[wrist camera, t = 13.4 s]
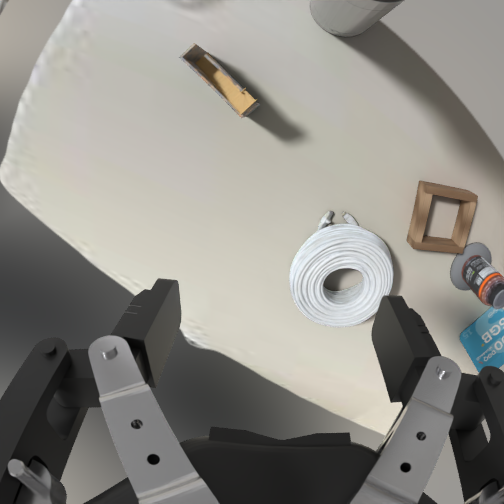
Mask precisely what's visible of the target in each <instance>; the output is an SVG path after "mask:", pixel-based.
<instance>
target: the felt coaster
mask: <svg viewBox="0 0 504 504" xmlns="http://www.w3.org/2000/svg"><path fill="white" fill-rule="evenodd" d="M474 255H480V256H482V257H483V258H484V259H485V260H486V261H487V262H488V263H490V264H491V253H490V251H489V249H488V248H487V247H486V246H485V245H484V244H482V243H471V244H469V245H467V246H465V247H464V250H463V254H460V253H458V254H457V255H456V257H455V259H454V261H453V263H452V266H451V270H450V277H451V281H452V283H453V284H454V285H455V287H457V288H458V289H460V290H470V289H471V288H470V287H469V286H468V285H467V284H466V282H465V281H464V280H463V278H462V274H461V272H462V267H463V265H464V263H465V262H466V261H467V259H468V258H470V257H471V256H474Z"/></svg>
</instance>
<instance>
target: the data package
mask: <svg viewBox="0 0 504 504" xmlns="http://www.w3.org/2000/svg"><path fill="white" fill-rule="evenodd" d="M460 341H461V342H462V344H463V346H464V347H465V349H466V351H467V353H468V354H469V356H470V358H471V360H472V361H473V363H474V365H475V367H476V369H477V370H478V372H480V371H481V369H482V368H483V367H485V366H494V367H497V368H499V367H501V366H502V365H503V364H504V310H503V309H502V308H501V309H494V307H493V306H492V307H491V308H490V309H489V310H487V311H486V312H485V313H484V314H483V315H482V316H481V317H480V318H478V319H477V320H476V321H475V322H474V323H472V324H471V325H470V326H469V327H468V328H466V329H465V330H464V331H463V332H462V333H461V335H460Z"/></svg>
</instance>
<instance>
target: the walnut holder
mask: <svg viewBox="0 0 504 504" xmlns="http://www.w3.org/2000/svg"><path fill="white" fill-rule="evenodd" d="M432 195H438V196H444V197H449V198H454V199H459V200H461V202H460V206H459V211H458V215H457V219H456V223H455V227H454V230H453V234H452V238H451V239H447V238H438V237H430V236H423V234H424V230H425V226H426V222H427V218H428V214H429V209H430V205H431V200H432ZM477 198H478V196H477V195H475V194H474V193H472V192H470V191H468V190H464V189H459V188H455V187H450V186H445V185H440V184H435V183H430V182H424V181H419V185H418V190H417V195H416V200H415V205H414V210H413V215H412V219H411V224H410V228H409V232H408V236H407V240H406V241H407V242H408V243H409V244H410V245H411V247H412V248H413V249H421V250H431V251H441V252H451V253H460V254H463V250H464V247H465V244H466V240H467V237H468V233H469V230H470V226H471V223H472V219H473V215H474V211H475V207H476V203H477Z"/></svg>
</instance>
